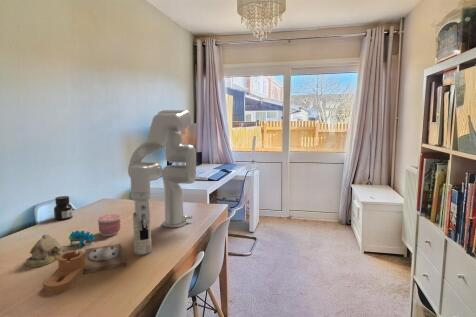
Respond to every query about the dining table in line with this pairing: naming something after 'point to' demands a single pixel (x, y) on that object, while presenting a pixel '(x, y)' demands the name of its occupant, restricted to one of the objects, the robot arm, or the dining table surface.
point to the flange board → (104, 258)
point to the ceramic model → (44, 252)
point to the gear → (80, 237)
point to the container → (109, 224)
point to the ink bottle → (62, 208)
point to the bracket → (66, 272)
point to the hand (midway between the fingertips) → (142, 235)
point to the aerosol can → (141, 245)
